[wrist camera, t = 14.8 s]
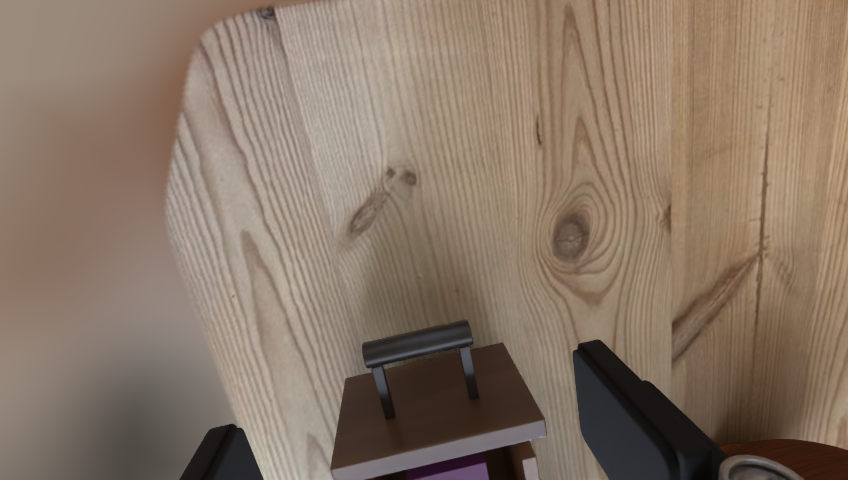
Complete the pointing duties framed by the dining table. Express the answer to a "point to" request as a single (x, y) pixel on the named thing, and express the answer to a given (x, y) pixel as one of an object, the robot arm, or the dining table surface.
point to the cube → (452, 469)
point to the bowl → (798, 457)
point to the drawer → (436, 409)
